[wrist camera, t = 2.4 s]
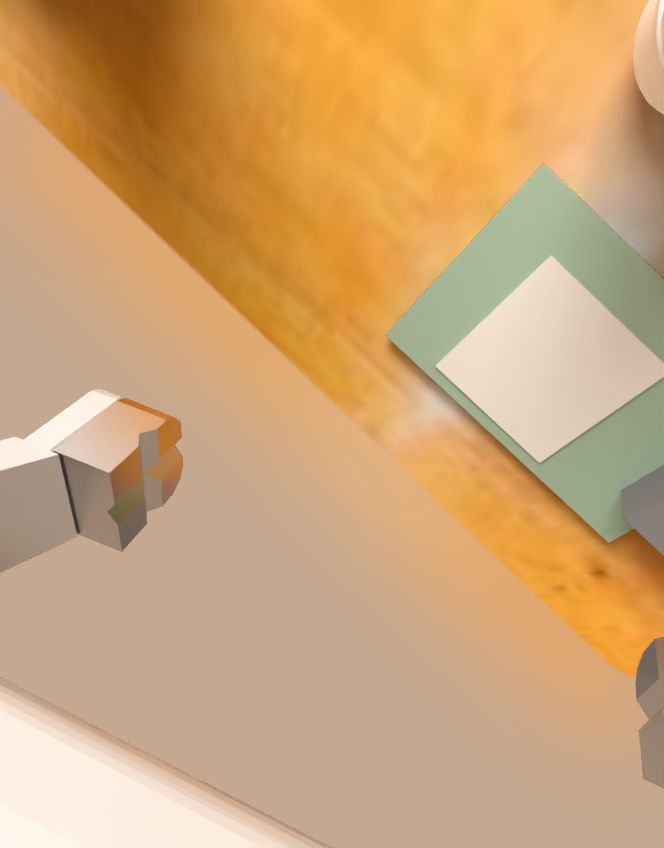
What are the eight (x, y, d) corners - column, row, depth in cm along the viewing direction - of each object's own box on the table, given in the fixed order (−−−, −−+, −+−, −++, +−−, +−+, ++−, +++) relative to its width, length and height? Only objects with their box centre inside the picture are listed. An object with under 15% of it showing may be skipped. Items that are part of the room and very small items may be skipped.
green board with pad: (390, 329, 40) (370, 352, 36) (543, 163, 32) (539, 168, 28) (655, 574, 41) (664, 624, 37) (867, 474, 33) (908, 524, 29)
